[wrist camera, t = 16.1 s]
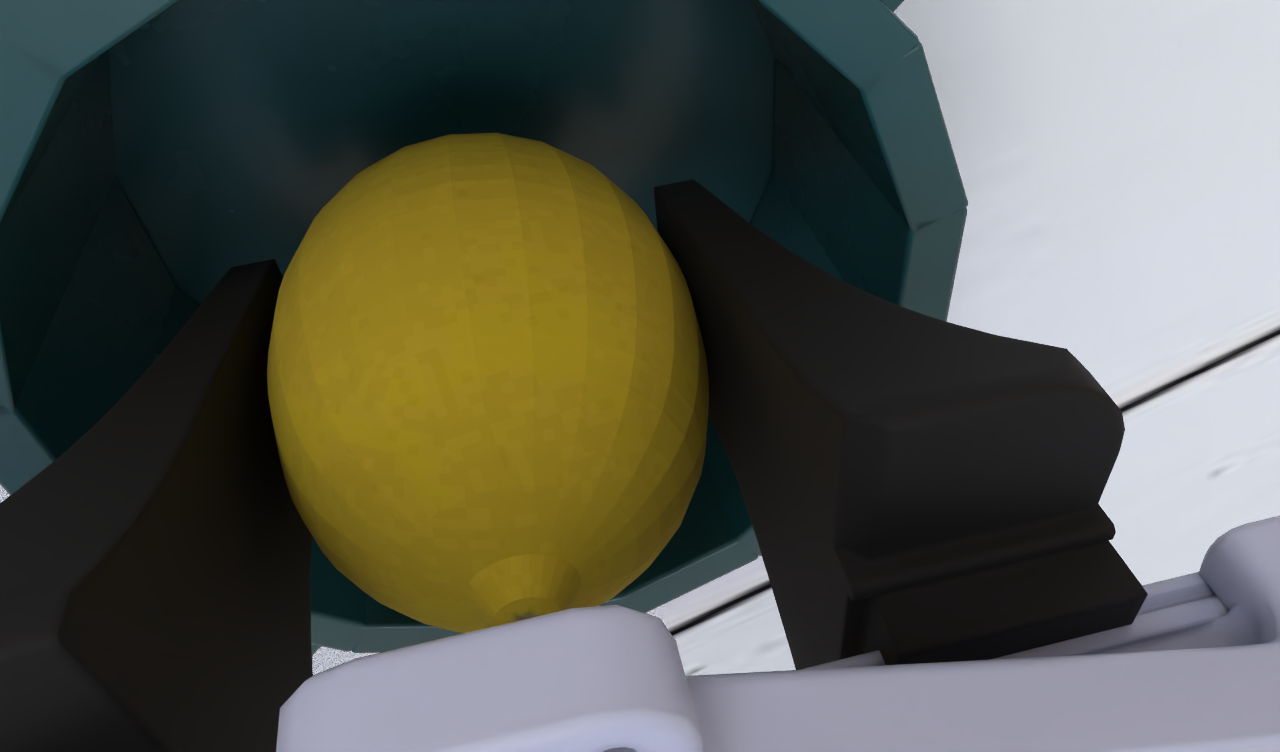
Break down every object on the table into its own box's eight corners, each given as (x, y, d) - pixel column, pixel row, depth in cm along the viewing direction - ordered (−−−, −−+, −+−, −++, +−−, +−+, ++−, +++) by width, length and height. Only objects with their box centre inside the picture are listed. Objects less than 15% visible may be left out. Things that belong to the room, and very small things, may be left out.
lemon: (582, -12, 13) (743, 340, 7) (668, 281, 17) (818, 665, 11) (218, 113, 13) (85, 561, 7) (387, 375, 17) (387, 805, 11)
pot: (1057, -52, 16) (1314, 96, 11) (486, 544, 23) (510, 770, 19) (422, -856, 9) (460, -1256, 5) (-100, 359, 16) (-274, 649, 12)
